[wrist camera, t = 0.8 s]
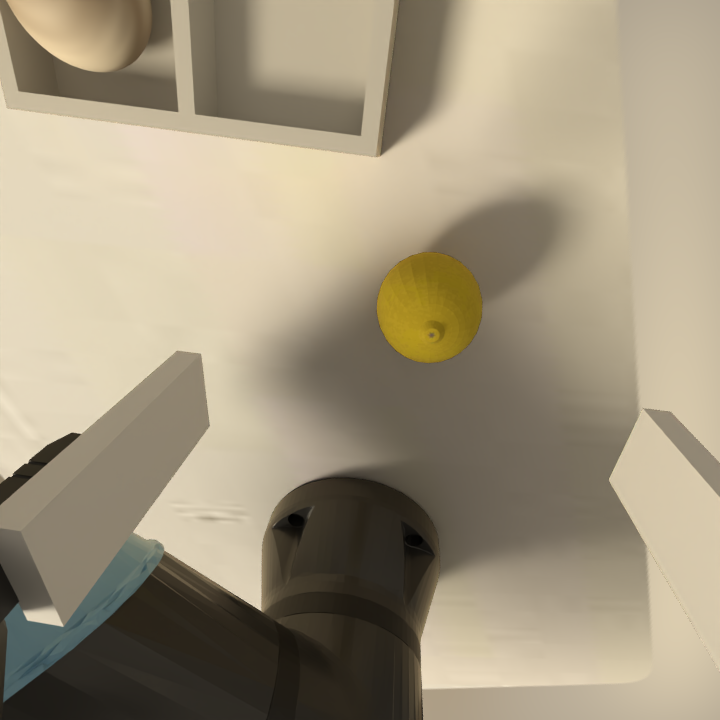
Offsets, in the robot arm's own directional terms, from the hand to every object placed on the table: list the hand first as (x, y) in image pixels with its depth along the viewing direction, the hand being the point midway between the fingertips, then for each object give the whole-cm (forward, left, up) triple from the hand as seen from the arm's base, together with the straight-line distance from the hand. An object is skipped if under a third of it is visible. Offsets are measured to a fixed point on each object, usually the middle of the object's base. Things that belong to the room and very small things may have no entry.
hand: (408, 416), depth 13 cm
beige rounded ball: (+12, +16, -14) cm, 24 cm away
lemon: (0, -1, -15) cm, 15 cm away
